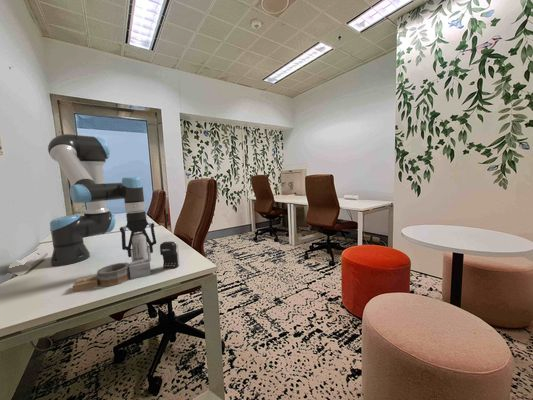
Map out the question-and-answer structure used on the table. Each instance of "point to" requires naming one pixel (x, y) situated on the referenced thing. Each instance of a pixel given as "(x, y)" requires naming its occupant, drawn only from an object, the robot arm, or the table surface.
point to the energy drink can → (140, 247)
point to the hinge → (114, 275)
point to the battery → (170, 254)
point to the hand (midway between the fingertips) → (141, 261)
